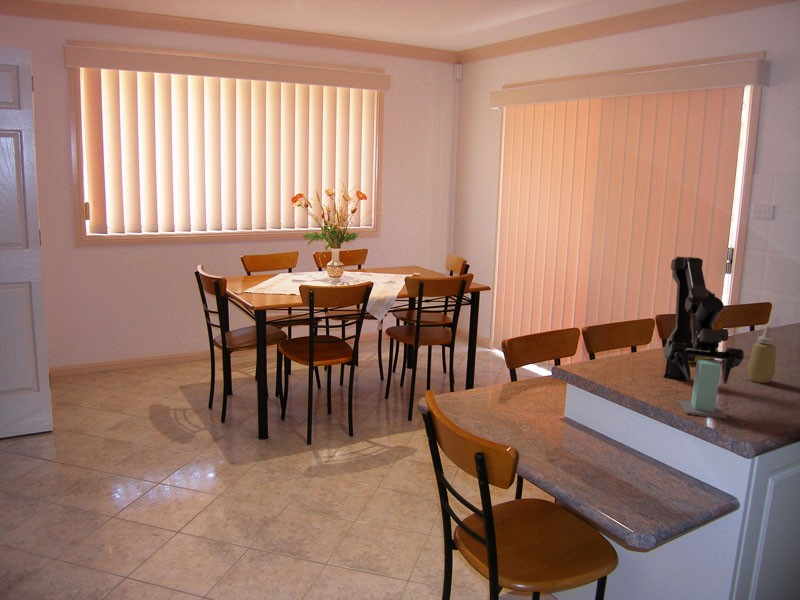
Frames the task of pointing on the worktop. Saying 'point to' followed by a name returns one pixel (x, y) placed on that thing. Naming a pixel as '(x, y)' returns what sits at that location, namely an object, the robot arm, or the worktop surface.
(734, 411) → the worktop surface
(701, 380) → the teal block
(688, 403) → the rubber mat
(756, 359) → the squeeze bottle
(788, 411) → the worktop surface
